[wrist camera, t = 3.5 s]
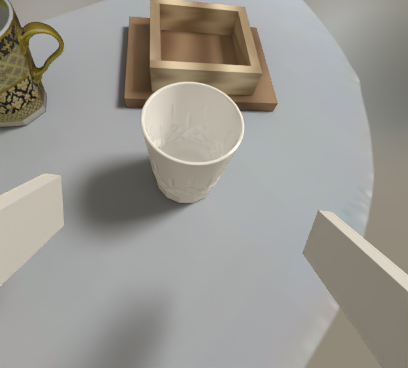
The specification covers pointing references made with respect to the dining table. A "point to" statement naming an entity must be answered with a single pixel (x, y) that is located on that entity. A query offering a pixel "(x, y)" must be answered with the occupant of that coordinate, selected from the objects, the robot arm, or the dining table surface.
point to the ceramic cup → (21, 69)
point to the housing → (197, 53)
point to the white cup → (190, 138)
